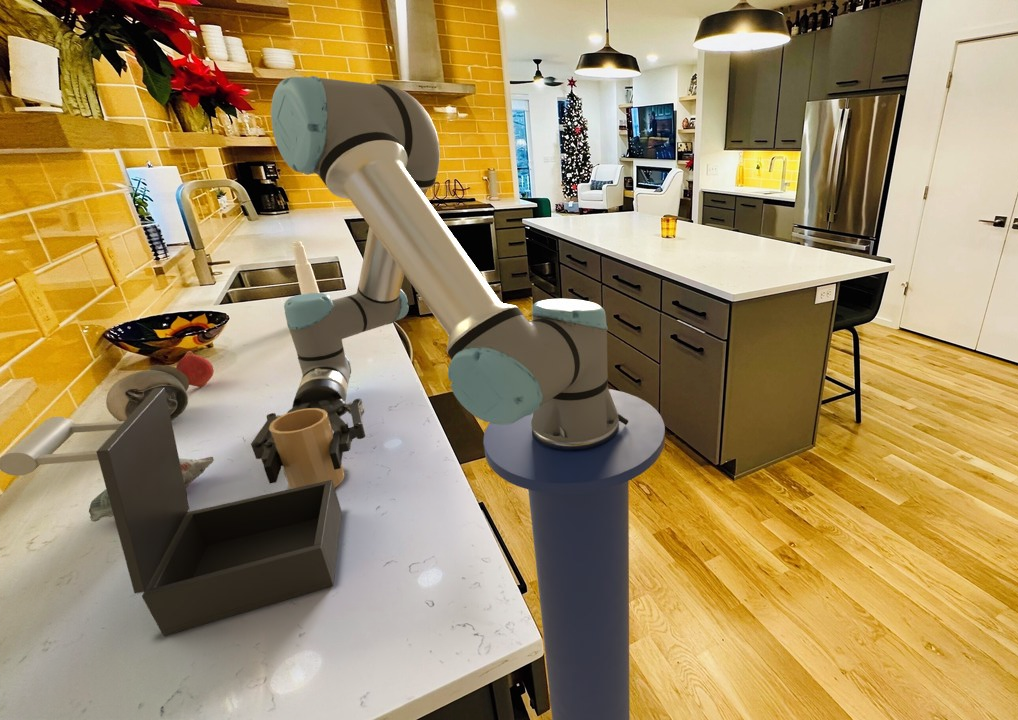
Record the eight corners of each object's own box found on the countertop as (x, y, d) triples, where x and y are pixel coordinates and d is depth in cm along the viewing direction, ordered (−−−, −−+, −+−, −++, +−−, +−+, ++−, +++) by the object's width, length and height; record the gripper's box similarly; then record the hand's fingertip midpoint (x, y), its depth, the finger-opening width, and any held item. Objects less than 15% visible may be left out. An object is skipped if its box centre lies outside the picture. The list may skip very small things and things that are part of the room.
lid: (164, 387, 56) (54, 391, 52) (107, 450, 44) (-39, 461, 40) (189, 508, 61) (91, 520, 57) (144, 592, 50) (19, 614, 46)
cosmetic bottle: (333, 315, 147) (314, 240, 139) (322, 322, 142) (302, 244, 133) (311, 315, 147) (291, 240, 138) (300, 322, 141) (278, 244, 133)
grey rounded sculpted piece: (208, 403, 98) (189, 354, 94) (181, 434, 88) (158, 381, 84) (144, 411, 95) (122, 362, 91) (108, 444, 85) (81, 390, 81)
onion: (184, 395, 101) (169, 359, 98) (182, 386, 105) (168, 351, 102) (220, 387, 105) (207, 352, 101) (217, 378, 108) (204, 344, 105)
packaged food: (219, 472, 78) (207, 445, 76) (163, 525, 67) (147, 496, 65) (157, 476, 77) (144, 450, 75) (91, 531, 66) (73, 502, 64)
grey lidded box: (342, 513, 70) (332, 479, 67) (333, 585, 58) (320, 548, 56) (203, 548, 64) (186, 512, 61) (163, 636, 52) (141, 596, 50)
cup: (346, 464, 80) (329, 404, 76) (342, 490, 74) (324, 426, 70) (295, 475, 77) (274, 413, 73) (287, 503, 72) (264, 437, 67)
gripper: (246, 388, 83) (204, 463, 64) (379, 368, 91) (377, 429, 72) (260, 427, 86) (223, 509, 67) (387, 404, 94) (387, 472, 75)
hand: (303, 467), depth 69 cm, fingers closed on cup, 7 cm apart
